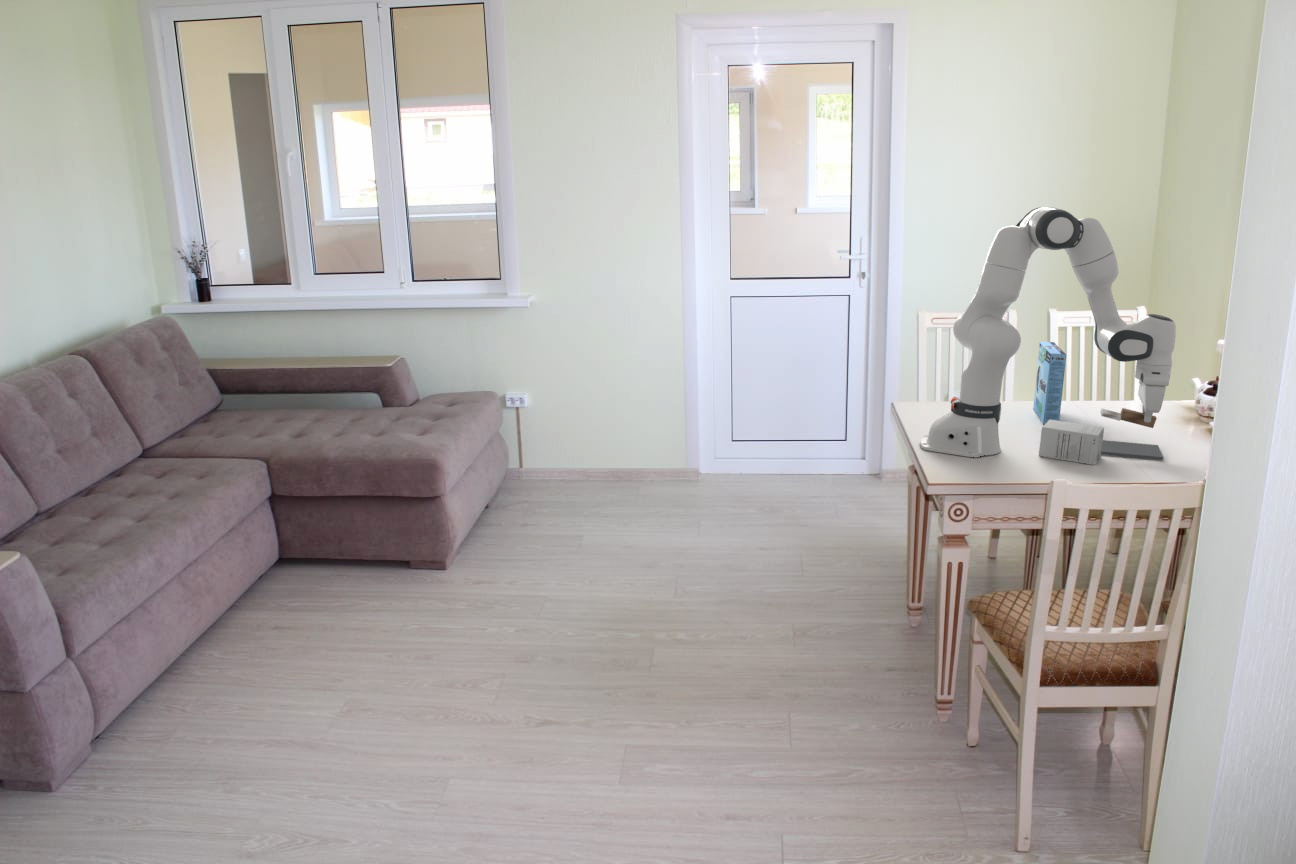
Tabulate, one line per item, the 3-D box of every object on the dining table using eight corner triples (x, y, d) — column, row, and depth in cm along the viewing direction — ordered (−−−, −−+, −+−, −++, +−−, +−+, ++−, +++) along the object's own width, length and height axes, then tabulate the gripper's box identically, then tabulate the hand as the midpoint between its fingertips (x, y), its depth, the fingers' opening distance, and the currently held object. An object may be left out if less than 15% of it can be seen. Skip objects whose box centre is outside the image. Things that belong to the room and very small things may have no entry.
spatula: (1101, 416, 283) (1105, 406, 282) (1100, 411, 287) (1103, 401, 286) (1153, 429, 279) (1157, 419, 278) (1151, 424, 284) (1155, 415, 283)
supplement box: (1101, 456, 280) (1045, 447, 288) (1105, 426, 277) (1049, 418, 285) (1094, 466, 273) (1037, 456, 281) (1098, 435, 270) (1041, 426, 278)
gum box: (1058, 425, 311) (1067, 354, 304) (1041, 424, 312) (1050, 353, 305) (1047, 409, 329) (1055, 341, 322) (1031, 408, 330) (1039, 341, 323)
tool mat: (1085, 453, 284) (1085, 449, 283) (1082, 441, 294) (1083, 438, 294) (1162, 460, 277) (1163, 457, 277) (1157, 448, 288) (1158, 445, 288)
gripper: (1136, 363, 288) (1130, 409, 292) (1144, 379, 269) (1137, 428, 273) (1160, 365, 286) (1153, 411, 290) (1170, 381, 267) (1163, 430, 271)
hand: (1146, 420), depth 281 cm, fingers closed on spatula, 2 cm apart
